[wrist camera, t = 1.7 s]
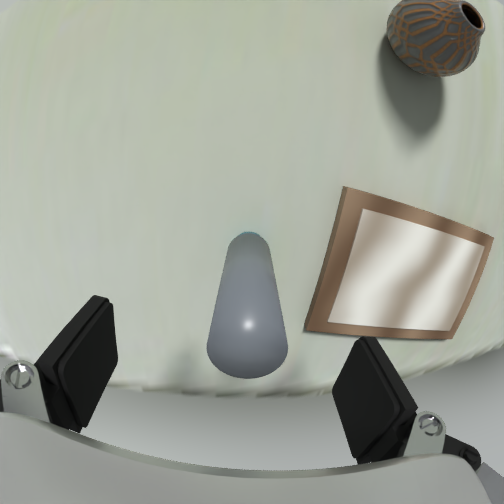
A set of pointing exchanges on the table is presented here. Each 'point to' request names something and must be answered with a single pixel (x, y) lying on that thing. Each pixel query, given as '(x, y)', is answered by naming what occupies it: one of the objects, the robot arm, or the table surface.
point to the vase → (435, 35)
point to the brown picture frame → (396, 271)
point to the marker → (247, 313)
